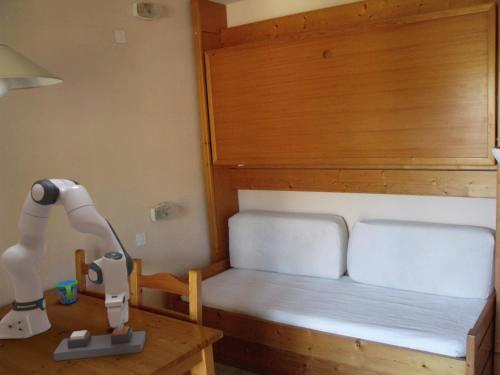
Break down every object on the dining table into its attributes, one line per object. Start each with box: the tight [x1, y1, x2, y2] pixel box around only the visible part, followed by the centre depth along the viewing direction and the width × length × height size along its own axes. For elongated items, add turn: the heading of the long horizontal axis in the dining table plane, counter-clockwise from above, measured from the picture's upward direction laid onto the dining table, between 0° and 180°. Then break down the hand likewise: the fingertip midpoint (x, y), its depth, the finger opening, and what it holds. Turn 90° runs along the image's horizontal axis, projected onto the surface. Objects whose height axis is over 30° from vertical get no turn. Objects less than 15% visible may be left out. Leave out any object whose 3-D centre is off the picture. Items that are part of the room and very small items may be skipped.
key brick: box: [112, 326, 130, 336], centre depth 193 cm, size 5×5×3 cm
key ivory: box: [69, 330, 88, 340], centre depth 192 cm, size 5×5×3 cm
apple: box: [105, 315, 116, 330], centre depth 213 cm, size 8×7×10 cm
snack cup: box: [54, 279, 79, 305], centre depth 252 cm, size 16×10×10 cm
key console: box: [53, 327, 147, 362], centre depth 193 cm, size 32×13×6 cm, turn 95°
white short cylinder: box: [124, 309, 129, 324], centre depth 221 cm, size 7×7×7 cm
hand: (121, 329), depth 193 cm, fingers closed, pressing on key brick
